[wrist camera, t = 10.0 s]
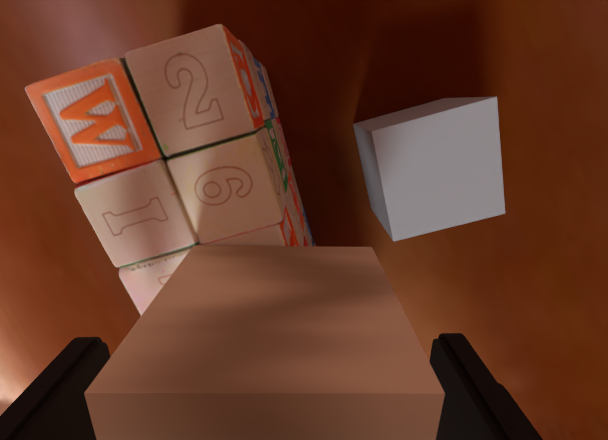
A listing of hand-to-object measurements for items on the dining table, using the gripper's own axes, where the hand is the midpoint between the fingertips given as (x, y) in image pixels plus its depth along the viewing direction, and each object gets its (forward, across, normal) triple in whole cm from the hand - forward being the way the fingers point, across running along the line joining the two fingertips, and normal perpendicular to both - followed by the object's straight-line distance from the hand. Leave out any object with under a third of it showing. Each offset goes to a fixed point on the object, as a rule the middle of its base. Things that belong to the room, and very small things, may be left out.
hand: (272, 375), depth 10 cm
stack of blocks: (+15, +1, +2) cm, 15 cm away
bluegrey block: (+15, -8, -4) cm, 17 cm away
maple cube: (+3, 0, 0) cm, 3 cm away
